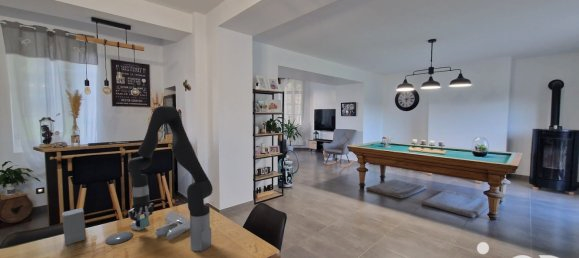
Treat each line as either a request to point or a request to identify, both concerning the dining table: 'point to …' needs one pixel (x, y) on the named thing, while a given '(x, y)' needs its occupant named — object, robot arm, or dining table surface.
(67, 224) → the skincare box
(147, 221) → the teal plug
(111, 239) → the slate coaster
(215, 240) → the dining table surface
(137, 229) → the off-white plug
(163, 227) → the chrome faucet
